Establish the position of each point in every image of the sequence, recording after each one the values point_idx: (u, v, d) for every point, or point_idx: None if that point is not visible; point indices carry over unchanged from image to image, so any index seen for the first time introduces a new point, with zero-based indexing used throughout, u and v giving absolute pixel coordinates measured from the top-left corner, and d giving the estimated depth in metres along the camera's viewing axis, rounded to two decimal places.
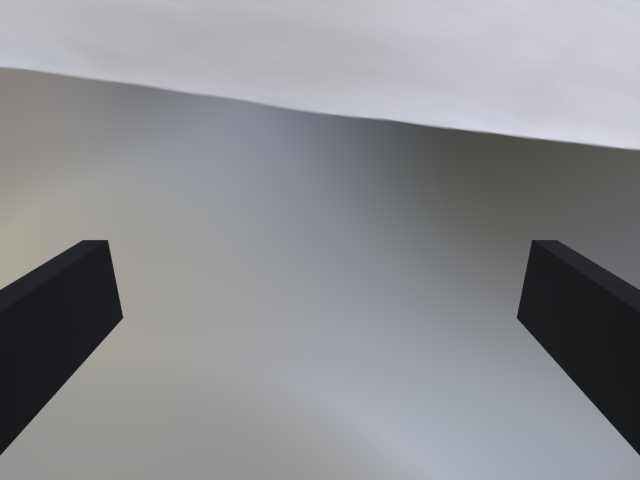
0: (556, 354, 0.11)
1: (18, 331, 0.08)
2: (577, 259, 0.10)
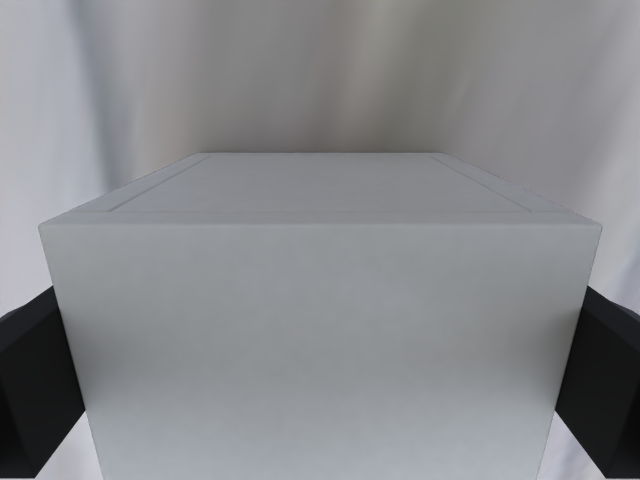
0: None
1: None
2: None
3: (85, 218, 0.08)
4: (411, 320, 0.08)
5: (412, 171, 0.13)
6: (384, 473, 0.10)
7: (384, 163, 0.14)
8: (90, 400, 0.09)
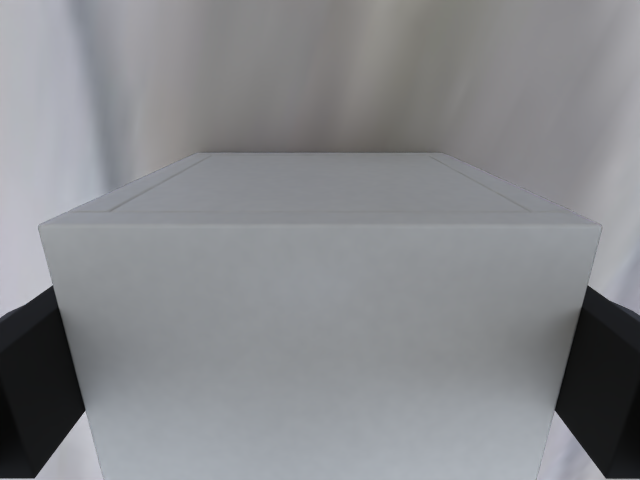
0: None
1: None
2: None
3: (85, 218, 0.08)
4: (411, 320, 0.08)
5: (412, 171, 0.13)
6: (384, 473, 0.10)
7: (384, 163, 0.14)
8: (90, 400, 0.09)
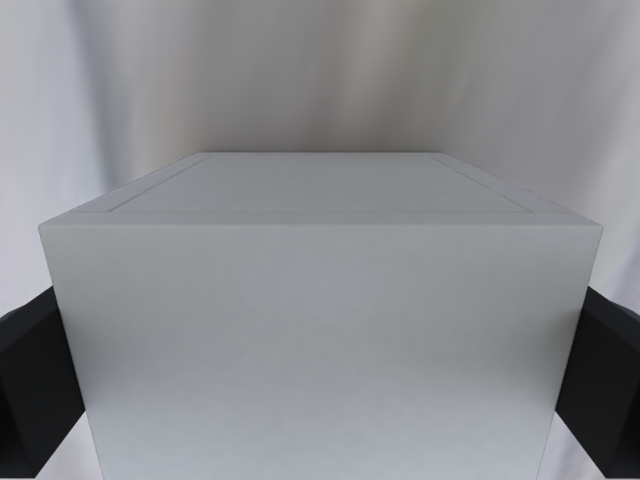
0: None
1: None
2: None
3: (85, 218, 0.08)
4: (411, 321, 0.08)
5: (412, 171, 0.13)
6: (384, 473, 0.10)
7: (384, 163, 0.14)
8: (90, 400, 0.09)
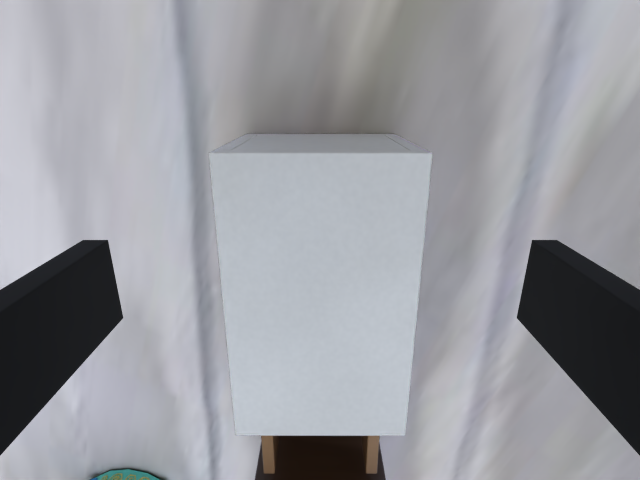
0: (555, 354, 0.11)
1: (18, 331, 0.08)
2: (577, 259, 0.10)
3: (224, 151, 0.19)
4: (358, 195, 0.19)
5: (369, 140, 0.24)
6: (349, 274, 0.21)
7: (356, 137, 0.26)
8: (219, 234, 0.20)
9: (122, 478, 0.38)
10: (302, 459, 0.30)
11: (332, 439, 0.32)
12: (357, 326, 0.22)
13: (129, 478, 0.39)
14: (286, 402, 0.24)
